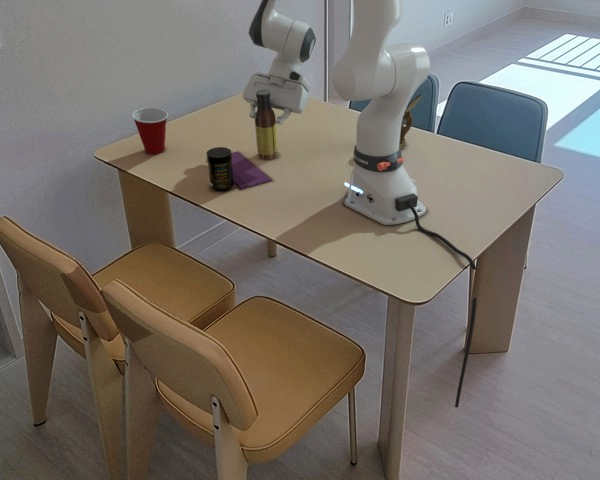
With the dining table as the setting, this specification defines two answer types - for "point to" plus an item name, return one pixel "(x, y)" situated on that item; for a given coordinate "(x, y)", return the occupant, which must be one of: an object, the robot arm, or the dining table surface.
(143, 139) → the plastic cup
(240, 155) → the purple flat rectangular panel
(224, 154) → the supplement container
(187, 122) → the dining table surface
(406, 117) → the wooden mug
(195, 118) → the dining table surface
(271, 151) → the sauce bottle
